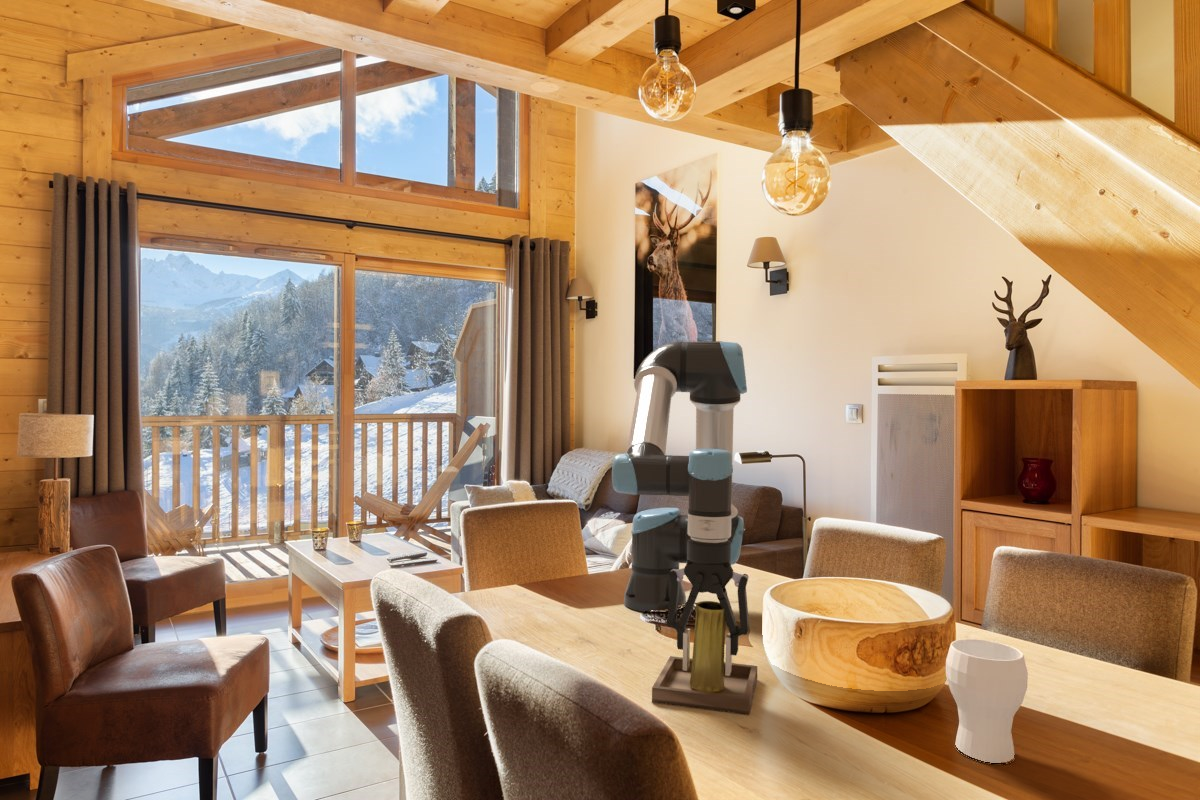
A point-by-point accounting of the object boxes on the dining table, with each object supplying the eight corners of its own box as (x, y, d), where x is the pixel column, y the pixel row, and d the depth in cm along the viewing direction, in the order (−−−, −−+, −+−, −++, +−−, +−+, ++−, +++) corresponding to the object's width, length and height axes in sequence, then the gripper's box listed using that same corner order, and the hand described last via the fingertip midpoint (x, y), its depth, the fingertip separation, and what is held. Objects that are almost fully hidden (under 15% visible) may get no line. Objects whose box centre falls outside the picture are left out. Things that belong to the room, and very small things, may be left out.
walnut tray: (670, 669, 142) (670, 656, 142) (757, 679, 137) (757, 665, 137) (651, 702, 127) (652, 687, 127) (749, 715, 122) (749, 699, 122)
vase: (727, 682, 134) (731, 603, 133) (721, 696, 128) (726, 613, 128) (693, 676, 136) (697, 598, 135) (685, 689, 130) (690, 607, 130)
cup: (930, 736, 115) (932, 638, 115) (997, 734, 116) (998, 637, 116) (970, 771, 105) (972, 662, 105) (1043, 768, 106) (1045, 661, 106)
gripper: (649, 538, 131) (647, 671, 131) (765, 546, 125) (762, 685, 126) (658, 531, 138) (656, 656, 138) (768, 538, 133) (766, 669, 133)
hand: (707, 670), depth 132 cm, fingers open, 7 cm apart
